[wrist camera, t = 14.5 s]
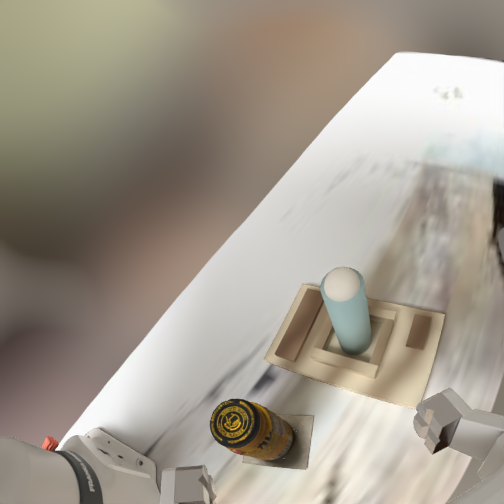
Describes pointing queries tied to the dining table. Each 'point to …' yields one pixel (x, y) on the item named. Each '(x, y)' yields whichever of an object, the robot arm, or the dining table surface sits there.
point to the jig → (368, 363)
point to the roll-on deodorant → (348, 309)
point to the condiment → (262, 434)
